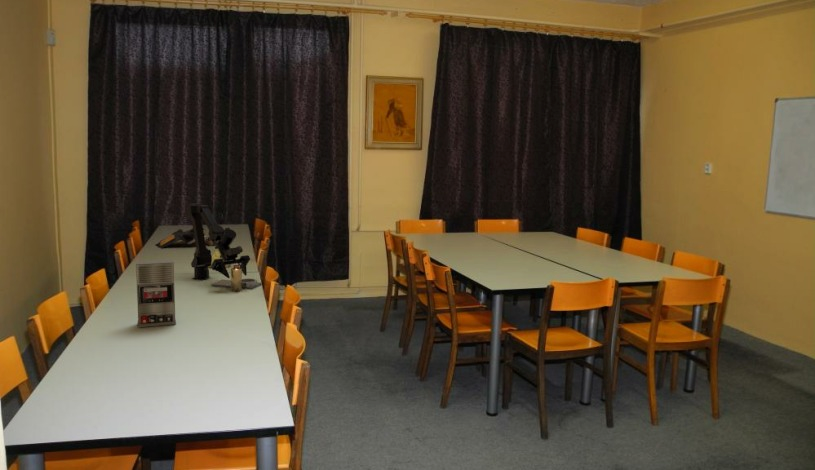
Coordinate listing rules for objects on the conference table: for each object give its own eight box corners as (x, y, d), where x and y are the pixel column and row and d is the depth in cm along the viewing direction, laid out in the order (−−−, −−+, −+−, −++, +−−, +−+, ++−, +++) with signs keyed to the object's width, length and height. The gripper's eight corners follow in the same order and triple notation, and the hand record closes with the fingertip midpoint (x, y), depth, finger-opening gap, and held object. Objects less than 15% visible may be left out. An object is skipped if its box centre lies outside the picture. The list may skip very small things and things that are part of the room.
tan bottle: (229, 291, 304) (228, 266, 302) (234, 289, 309) (233, 264, 307) (238, 292, 303) (238, 266, 301) (243, 290, 308) (243, 264, 306)
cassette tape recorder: (138, 328, 244) (135, 265, 240) (137, 323, 250) (135, 261, 246) (175, 325, 250) (174, 263, 246) (174, 320, 255) (173, 260, 251)
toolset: (160, 249, 400) (148, 220, 415) (161, 269, 414) (149, 240, 428) (222, 236, 421) (209, 209, 435) (221, 256, 434) (208, 229, 448)
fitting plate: (211, 286, 313) (210, 280, 313) (221, 281, 324) (221, 275, 324) (252, 289, 309) (252, 283, 309) (261, 284, 320) (261, 278, 319)
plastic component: (230, 264, 356) (213, 256, 353) (224, 275, 357) (207, 268, 354) (231, 255, 375) (215, 248, 372) (225, 265, 375) (209, 259, 372)
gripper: (213, 242, 298) (226, 269, 292) (248, 239, 312) (260, 264, 306) (205, 256, 305) (217, 282, 299) (239, 252, 318) (252, 277, 312)
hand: (237, 276), depth 304 cm, fingers open, 9 cm apart
